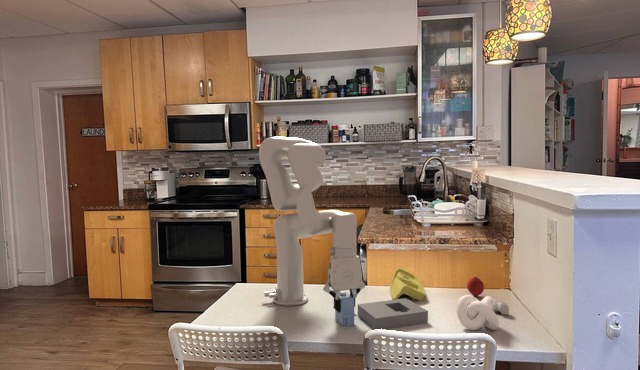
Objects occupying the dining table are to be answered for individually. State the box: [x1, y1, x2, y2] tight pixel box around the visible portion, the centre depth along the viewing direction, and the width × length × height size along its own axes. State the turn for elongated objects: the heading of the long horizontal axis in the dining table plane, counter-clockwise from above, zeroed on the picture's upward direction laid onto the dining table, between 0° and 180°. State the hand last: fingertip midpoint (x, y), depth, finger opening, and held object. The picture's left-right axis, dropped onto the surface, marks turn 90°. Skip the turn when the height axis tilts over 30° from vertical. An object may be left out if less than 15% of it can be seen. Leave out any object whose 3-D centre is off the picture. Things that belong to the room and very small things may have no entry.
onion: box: [466, 274, 485, 297], centre depth 149 cm, size 6×6×8 cm
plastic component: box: [389, 267, 427, 301], centre depth 154 cm, size 20×7×10 cm
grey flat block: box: [357, 297, 429, 330], centre depth 127 cm, size 18×13×4 cm
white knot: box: [456, 294, 500, 331], centre depth 121 cm, size 11×12×9 cm
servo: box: [333, 290, 357, 327], centre depth 125 cm, size 4×9×9 cm, turn 19°
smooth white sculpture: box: [492, 298, 510, 316], centre depth 133 cm, size 4×8×5 cm
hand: (344, 309), depth 125 cm, fingers closed on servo, 4 cm apart
